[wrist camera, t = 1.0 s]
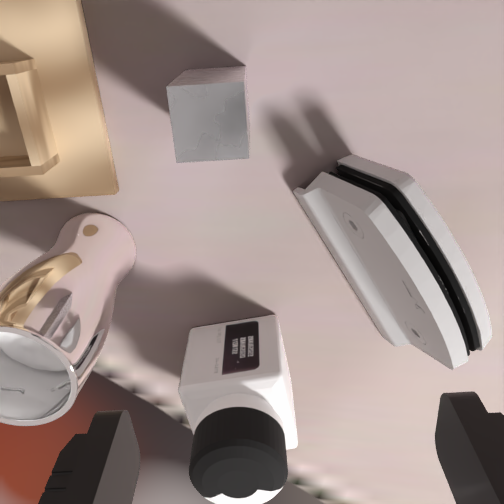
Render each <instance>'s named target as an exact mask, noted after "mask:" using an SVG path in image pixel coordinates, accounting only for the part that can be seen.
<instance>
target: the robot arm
mask: <svg viewBox="0 0 504 504" xmlns="http://www.w3.org/2000/svg"><path fill="white" fill-rule="evenodd" d="M435 444H436V450H437V455H438V458H439V461H440V464H441V466H442V469H443V471H444V474H445V476H446V479H447V481H448V484H449V486H450V489H451V491H452V494H453V496H454V499H455V501H456V504H504V415H503V414H502V413H488V412H487V410H486V409H485V407H484V405H483V403H482V402H481V400H480V398H479V396H478V395H477V394H476V393H475V392H457V393H443V394H442V395H441V398H440V405H439V411H438V418H437V425H436V431H435ZM139 469H140V451H139V446H138V443H137V439H136V436H135V432H134V429H133V425H132V422H131V419H130V415H129V413H128V411H127V410H116V411H99V412H97V413H96V414H95V415H94V417H93V420H92V422H91V425H90V427H89V430H88V433H87V434H75V436H74V437H73V438H72V439H71V440H70V441H69V443H68V444H67V445H66V446H65V447H64V449H62V451H61V452H60V454H59V456H58V458H57V461H56V463H55V466H54V468H53V470H52V475H51V476H50V477H49V480H48V482H47V484H46V487H45V492H44V493H43V494H42V496H41V498H40V501H39V503H38V504H132V500H133V496H134V492H135V488H136V484H137V479H138V475H139Z"/></svg>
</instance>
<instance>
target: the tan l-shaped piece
mask: <svg viewBox="0 0 504 504" xmlns="http://www.w3.org/2000/svg"><path fill="white" fill-rule="evenodd" d="M118 191H119V187H118V182H117V177H116V172H115V167H114V162H113V157H112V152H111V147H110V142H109V137H108V132H107V127H106V122H105V117H104V112H103V107H102V103H101V98H100V93H99V88H98V83H97V78H96V73H95V68H94V63H93V58H92V53H91V48H90V43H89V38H88V33H87V28H86V23H85V18H84V13H83V8H82V3H81V0H0V201H14V200H31V199H48V198H65V197H82V196H98V195H115V194H116V193H117V192H118Z"/></svg>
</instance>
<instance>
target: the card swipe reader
mask: <svg viewBox="0 0 504 504" xmlns="http://www.w3.org/2000/svg"><path fill="white" fill-rule="evenodd" d="M337 162H338V164H339V166H338V167H336V169H337V171H338V173H339V174H340V175H337V174H335V173H333V172H330V173H328V174H327V173H325V172H323V171H322V172H321V173H320V174H319V175H318V176H317V177H316V178H315V180H314V181H313V182H312V183H311V184H310V185H309V186H308V187H307V188H306V189H302V188H299V187H297V188H296V189H295V190H293V193H294V194H295V196H296V198H297V199H298V201H299V203H300V204H301V206H302V207H303V209H304V211H305V212H306V214H307V215H308V217H309V219H310V220H311V222H312V223H313V225H314V227H315V228H316V230H317V232H318V233H319V235H320V236H321V238H322V240H323V241H324V243H325V244H326V246H327V248H328V249H329V251H330V252H331V254H332V256H333V257H334V259H335V261H336V262H337V264H338V265H339V267H340V269H341V270H342V272H343V273H344V275H345V277H346V278H347V280H348V281H349V283H350V285H351V286H352V288H353V290H354V291H355V293H356V294H357V296H358V298H359V299H360V301H361V302H362V304H363V306H364V307H365V309H366V310H367V312H368V314H369V315H370V317H371V318H372V320H373V322H374V323H375V325H376V327H377V328H378V330H379V331H380V333H381V335H382V336H383V338H384V339H386V340H387V341H388V342H389V343H391V344H392V345H393V346H403V345H409V344H411V345H414V346H415V347H417V348H418V349H420V350H421V351H423V352H425V353H426V354H428V355H429V356H431V357H432V358H434V359H435V360H437V361H439V362H440V363H442V364H443V365H445V366H446V367H448V368H449V369H454V368H456V367H458V366H460V365H462V364H464V363H466V362H468V356H469V355H470V351H469V350H471V351H475V350H476V349H477V350H483V348H484V347H485V346H486V344H487V343H488V342H489V340H490V339H491V338H492V327H491V322H490V317H489V314H488V310H487V307H486V304H485V301H484V298H483V295H482V292H481V290H480V288H479V285H478V283H477V281H476V278H475V276H474V274H473V272H472V270H471V268H470V266H469V264H468V262H467V260H466V258H465V256H464V254H463V252H462V250H461V249H460V247H459V245H458V244H457V242H456V240H455V238H454V237H453V235H452V233H451V231H450V230H449V228H448V227H447V225H446V223H445V222H444V220H443V219H442V217H441V216H440V214H439V213H438V211H437V210H436V208H435V207H434V205H433V204H432V202H431V201H430V200H429V198H428V197H427V195H426V194H425V193H424V191H423V190H422V189H421V187H420V186H419V184H418V183H417V182H416V181H415V180H414V179H413V177H411V176H410V175H409V174H407V173H405V172H402V171H399V170H396V169H394V168H391V167H388V166H385V165H382V164H379V163H376V162H373V161H370V160H367V159H364V158H362V157H359V156H356V155H353V154H352V155H348V156H345V157H343V158H341V159H339V160H337Z"/></svg>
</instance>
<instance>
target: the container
mask: <svg viewBox="0 0 504 504" xmlns="http://www.w3.org/2000/svg"><path fill="white" fill-rule="evenodd" d="M178 392H179V395H180V398H181V401H182V403H183V406H184V409H185V412H186V415H187V418H188V420H189V423H190V426H191V429H192V432H193V434H194V438H193V444H192V452H191V459H190V466H189V476H190V480H191V482H192V484H193V486H194V487H195V488H196V490H197V491H198V492H199V493H200V494H201V495H202V496H203V497H205V498H206V499H207V500H209V501H211V502H213V503H216V504H262V503H264V502H266V501H268V500H270V499H271V498H273V497H274V496H275V495H276V494H277V493H278V492H279V491H280V490H281V489H282V487H283V486H284V484H285V482H286V480H287V476H288V468H287V456H286V450H287V449H294V448H296V447H297V444H298V439H297V430H296V421H295V411H294V402H293V393H292V383H291V377H290V372H289V368H288V363H287V358H286V353H285V348H284V344H283V339H282V334H281V329H280V324H279V320H278V317H277V316H276V315H268V316H262V317H256V318H250V319H244V320H238V321H232V322H226V323H220V324H214V325H207V326H201V327H195V328H192V329H191V330H190V332H189V337H188V342H187V347H186V352H185V357H184V363H183V368H182V373H181V378H180V383H179V388H178Z"/></svg>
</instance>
